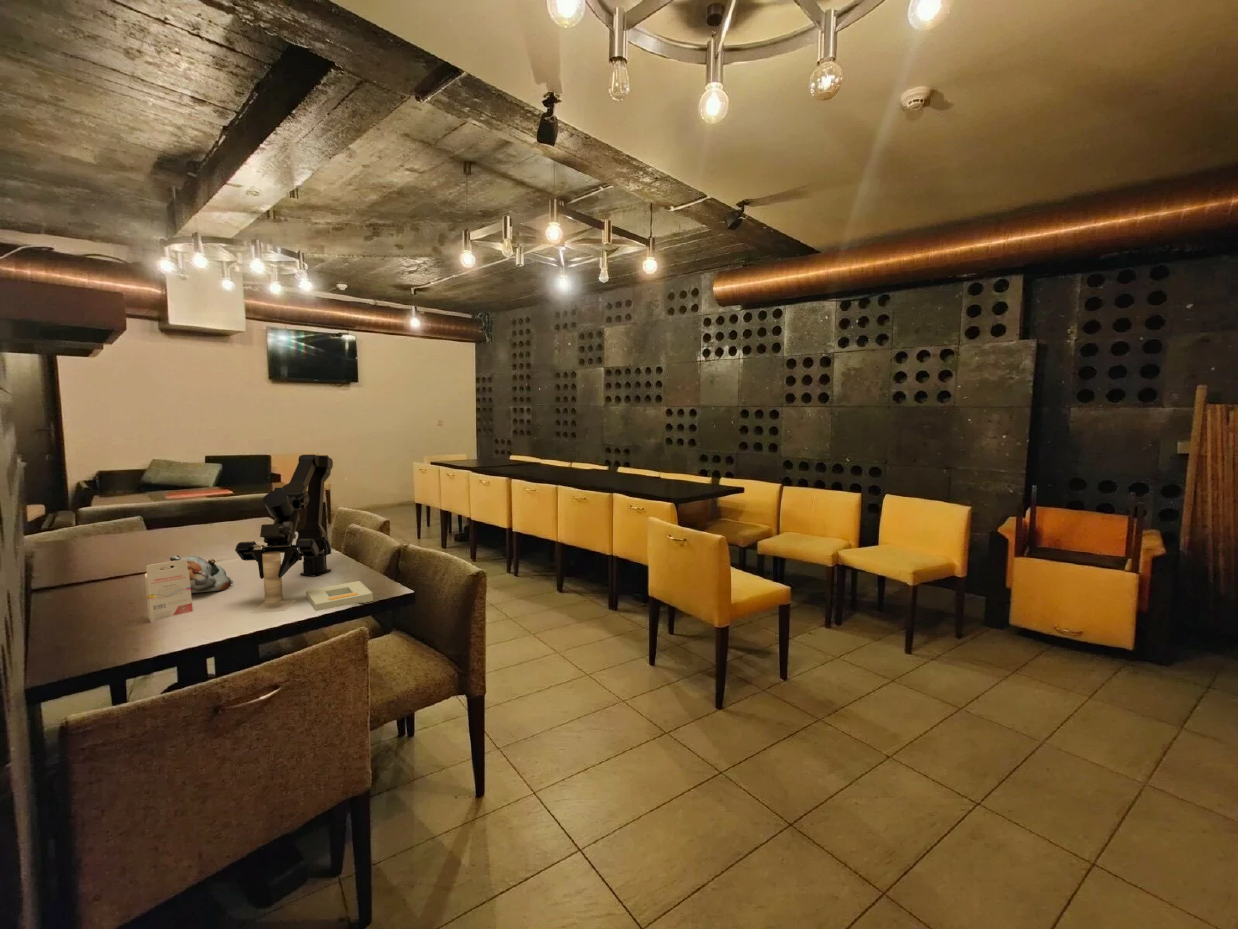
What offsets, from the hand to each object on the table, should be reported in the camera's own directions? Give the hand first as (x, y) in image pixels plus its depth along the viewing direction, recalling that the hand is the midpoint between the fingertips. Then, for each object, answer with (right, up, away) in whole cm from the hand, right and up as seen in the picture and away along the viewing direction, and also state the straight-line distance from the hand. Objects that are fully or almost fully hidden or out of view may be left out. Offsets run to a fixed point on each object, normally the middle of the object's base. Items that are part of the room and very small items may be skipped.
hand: (270, 577), depth 141 cm
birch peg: (0, -7, +2) cm, 7 cm away
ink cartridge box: (-24, -9, -3) cm, 26 cm away
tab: (0, -9, +2) cm, 9 cm away
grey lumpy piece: (-30, -8, +16) cm, 35 cm away
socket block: (+14, -8, +9) cm, 18 cm away
